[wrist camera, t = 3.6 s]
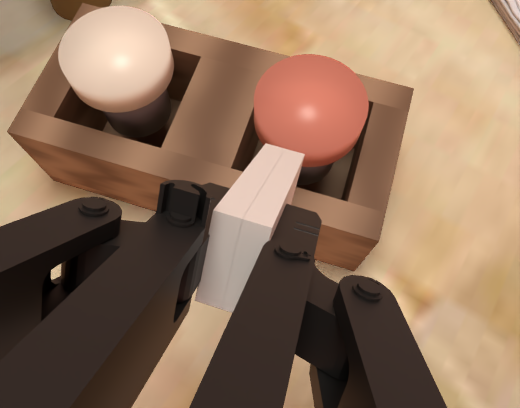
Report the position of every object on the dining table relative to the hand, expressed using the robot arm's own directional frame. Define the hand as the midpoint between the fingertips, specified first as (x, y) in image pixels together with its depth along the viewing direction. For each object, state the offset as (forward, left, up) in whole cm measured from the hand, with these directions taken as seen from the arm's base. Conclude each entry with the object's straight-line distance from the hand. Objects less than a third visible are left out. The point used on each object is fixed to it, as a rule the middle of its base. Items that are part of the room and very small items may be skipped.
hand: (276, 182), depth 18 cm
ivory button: (-14, -8, -15) cm, 22 cm away
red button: (-9, +4, -15) cm, 18 cm away
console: (-12, -2, -20) cm, 23 cm away
